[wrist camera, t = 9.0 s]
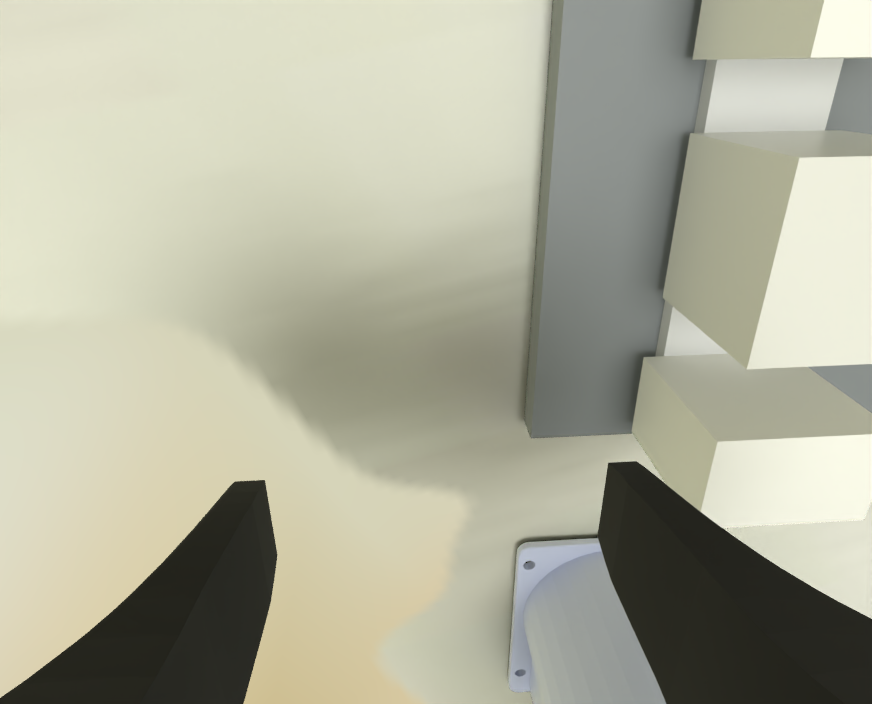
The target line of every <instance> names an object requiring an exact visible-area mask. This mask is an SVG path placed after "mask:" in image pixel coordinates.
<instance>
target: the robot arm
mask: <svg viewBox="0 0 872 704" xmlns="http://www.w3.org/2000/svg"><path fill="white" fill-rule="evenodd" d="M276 561H277V551H276V545H275V539H274V533H273V527H272V521H271V515H270V509H269V503H268V497H267V491H266V485H265V480H259V481H240V482H234V483H233V484H232V485H231V486H230V487H229V488H228V489H227V491H226V492H225V493H224V494H223V495H222V496H221V497H220V499H219V500H218V501H217V502H216V503H215V505H214V506H213V507H212V508H211V509H210V510H209V512H208V513H207V514H206V515H205V517H203V518H202V520H201V521H200V522H199V523H198V524H197V526H196V527H195V528H194V529H193V530H192V531H191V532H190V533H189V534H188V536H187V537H186V538H185V539H184V540H183V541H182V542H181V543H180V544H179V545H178V546H177V548H176V549H175V550H174V551H173V552H172V553H171V554H170V555H169V556H168V557H167V558H166V559H165V561H164V562H163V563H162V564H161V565H160V566H159V567H158V568H157V569H156V570H155V571H154V572H153V573H152V574H151V575H150V576H149V577H148V578H147V579H146V580H145V581H144V582H143V583H142V584H141V585H140V586H139V587H138V588H137V589H136V590H135V591H134V592H133V593H132V594H131V595H130V596H128V598H126V599H125V600H124V601H123V602H122V603H121V604H120V605H119V606H118V607H117V608H116V609H114V610H113V611H112V612H111V613H110V614H109V615H108V616H106V617H105V618H104V619H103V620H102V621H101V622H100V623H98V624H97V625H96V626H95V627H94V628H92V629H91V630H90V631H89V632H88V633H87V634H85V635H84V636H83V637H82V638H80V639H79V640H78V641H77V642H75V643H74V644H73V645H71V646H70V647H69V648H67V649H66V650H65V651H64V652H62V653H61V654H60V655H58V656H57V657H56V658H54V659H53V660H52V661H50V662H49V663H48V664H46V665H45V666H44V667H43V668H41V669H40V670H39V671H37V672H36V673H35V674H33V675H32V676H31V677H29V678H28V679H27V680H25V681H24V682H23V683H21V684H20V685H18V686H17V687H16V688H14V689H13V690H11V691H10V692H8V693H7V694H5V695H4V696H2V697H1V698H0V704H243V702H244V699H245V696H246V692H247V688H248V684H249V681H250V677H251V674H252V670H253V666H254V663H255V659H256V655H257V651H258V648H259V644H260V641H261V637H262V633H263V629H264V625H265V622H266V618H267V614H268V610H269V606H270V602H271V595H272V589H273V583H274V575H275V568H276ZM527 561H531V562H529V563H525V562H527ZM508 684H509V689H510V690H511V691H514V692H529V691H530V693H531V698H532V702H533V704H872V619H871V618H869V617H867V616H865V615H863V614H861V613H859V612H857V611H855V610H853V609H851V608H849V607H847V606H846V605H844V604H842V603H840V602H838V601H836V600H834V599H832V598H831V597H829V596H827V595H825V594H823V593H822V592H820V591H818V590H816V589H815V588H813V587H811V586H810V585H808V584H806V583H805V582H803V581H801V580H800V579H798V578H796V577H795V576H793V575H791V574H790V573H788V572H786V571H785V570H783V569H781V568H780V567H778V566H777V565H775V564H774V563H772V562H770V561H769V560H767V559H766V558H764V557H763V556H761V555H760V554H758V553H757V552H755V551H754V550H753V549H751V548H750V547H748V546H747V545H745V544H744V543H742V542H741V541H740V540H738V539H737V538H735V537H734V536H732V535H731V534H730V533H728V532H727V531H726V530H724V529H723V528H721V527H720V526H719V525H717V524H716V523H715V522H713V521H712V520H711V519H709V518H708V517H707V516H705V515H704V514H703V513H702V512H700V511H699V510H698V509H696V508H695V507H694V506H693V505H691V504H690V503H689V502H687V501H686V500H685V499H684V498H682V497H681V496H680V495H679V494H677V493H676V492H675V491H674V490H672V489H671V488H670V487H669V486H667V485H666V484H665V483H664V482H662V481H661V480H660V479H659V478H657V477H656V476H655V475H654V474H652V473H651V472H650V471H649V470H647V469H646V468H645V467H643V466H642V465H641V464H639V463H638V462H637V461H636V462H616V463H608V469H607V476H606V483H605V490H604V496H603V503H602V510H601V517H600V524H599V530H598V538H589V539H572V540H555V541H538V542H526V543H523V544H522V545H520V546H519V547H518V549H517V556H516V570H515V584H514V599H513V613H512V628H511V642H510V656H509V671H508Z"/></svg>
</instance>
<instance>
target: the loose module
mask: <svg viewBox="0 0 872 704" xmlns="http://www.w3.org/2000/svg"><path fill="white" fill-rule="evenodd" d="M663 298H664V299H665V300H666V301H667V302H668V303H669V304H671V305H672V306H673V307H674V308H675V309H676V310H678V311H679V312H680V313H681V314H682V315H684V316H685V317H686V318H687V319H688V320H689V321H691V322H692V323H693V324H694V325H695V326H696V327H698V328H699V329H700V330H701V331H702V332H704V333H705V334H706V335H707V336H708V337H709V338H711V339H712V340H713V341H714V342H715V343H716V344H718V345H719V346H720V347H721V348H722V349H723V350H725V351H726V352H727V353H728V354H729V355H731V356H732V357H733V358H734V359H735V360H736V361H738V362H739V363H740V364H741V365H742V366H743V367H745V368H746V369H767V368H790V367H813V366H836V365H859V364H872V135H871V134H864V133H857V132H850V131H843V130H823V131H769V132H715V133H690V137H689V143H688V149H687V155H686V161H685V167H684V173H683V179H682V185H681V191H680V197H679V203H678V209H677V214H676V220H675V226H674V232H673V238H672V244H671V250H670V256H669V262H668V268H667V274H666V280H665V286H664V292H663Z"/></svg>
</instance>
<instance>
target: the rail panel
mask: <svg viewBox="0 0 872 704" xmlns="http://www.w3.org/2000/svg"><path fill="white" fill-rule="evenodd" d="M823 130H843V131H850V132H857V133H864V134H871V135H872V0H553V8H552V23H551V37H550V52H549V67H548V81H547V96H546V111H545V125H544V140H543V155H542V169H541V184H540V199H539V213H538V228H537V242H536V257H535V272H534V286H533V301H532V316H531V330H530V345H529V360H528V374H527V389H526V404H525V418H524V421H525V424H526V426H527V429H528V432H529V434H530V437H531V438H547V437H569V436H590V435H611V434H632V433H633V435H634V436H635V438H636V439H637V441H638V442H639V444H640V445H641V447H642V448H643V450H644V451H645V453H646V454H647V456H648V457H649V459H650V460H651V462H652V463H653V465H654V466H655V468H656V469H657V471H658V472H659V474H660V476H661V477H662V479H663V480H664V482H665V483H666V485H667V486H669V487H670V488H671V489H672V490H674V491H675V492H676V493H677V494H679V495H680V496H681V497H682V498H684V499H685V500H686V501H687V502H689V503H690V504H691V505H693V506H694V507H695V508H696V509H698V510H699V511H700V512H702V513H703V514H704V515H705V516H707V517H708V518H709V519H711V520H712V521H713V522H715V523H716V524H717V525H719V526H720V527H721V528H734V527H751V526H768V525H785V524H803V523H820V522H837V521H854V520H864V519H865V516H866V514H867V511H868V509H869V506H870V504H871V501H872V364H859V365H836V366H813V367H790V368H767V369H746V368H745V367H743V366H742V365H741V364H740V363H739V362H738V361H736V360H735V359H734V358H733V357H732V356H731V355H729V354H728V353H727V352H726V351H725V350H723V349H722V348H721V347H720V346H719V345H718V344H716V343H715V342H714V341H713V340H712V339H711V338H709V337H708V336H707V335H706V334H705V333H704V332H702V331H701V330H700V329H699V328H698V327H696V326H695V325H694V324H693V323H692V322H691V321H689V320H688V319H687V318H686V317H685V316H684V315H682V314H681V313H680V312H679V311H678V310H676V309H675V308H674V307H673V306H672V305H671V304H669V303H668V302H667V301H666V300H665V299H664V298H663V292H664V286H665V280H666V274H667V268H668V262H669V256H670V250H671V244H672V238H673V232H674V226H675V220H676V214H677V209H678V203H679V197H680V191H681V185H682V179H683V173H684V167H685V161H686V155H687V149H688V143H689V137H690V133H715V132H769V131H823Z"/></svg>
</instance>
